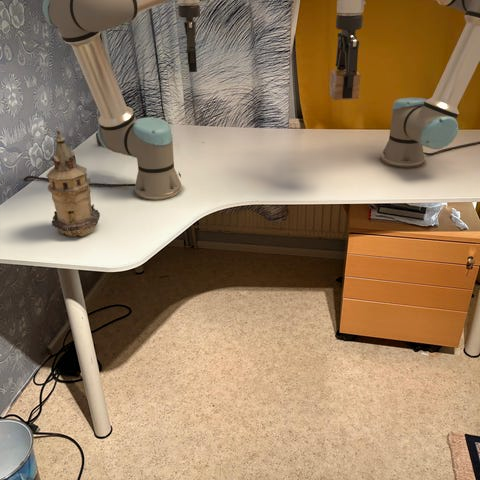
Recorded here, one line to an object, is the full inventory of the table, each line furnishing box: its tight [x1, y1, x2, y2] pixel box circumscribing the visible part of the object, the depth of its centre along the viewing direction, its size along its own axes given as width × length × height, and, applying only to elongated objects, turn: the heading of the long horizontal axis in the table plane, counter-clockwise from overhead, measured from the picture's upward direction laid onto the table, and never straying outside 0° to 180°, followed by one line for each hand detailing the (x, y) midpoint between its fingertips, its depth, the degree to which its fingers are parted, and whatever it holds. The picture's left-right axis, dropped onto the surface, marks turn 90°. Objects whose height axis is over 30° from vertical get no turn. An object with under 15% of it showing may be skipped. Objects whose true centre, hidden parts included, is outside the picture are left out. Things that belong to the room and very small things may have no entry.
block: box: [328, 69, 361, 101], centre depth 163 cm, size 7×8×7 cm
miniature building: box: [45, 129, 101, 237], centre depth 148 cm, size 13×14×30 cm
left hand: (192, 67), depth 195 cm, fingers open, 13 cm apart
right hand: (343, 94), depth 164 cm, fingers closed on block, 7 cm apart
